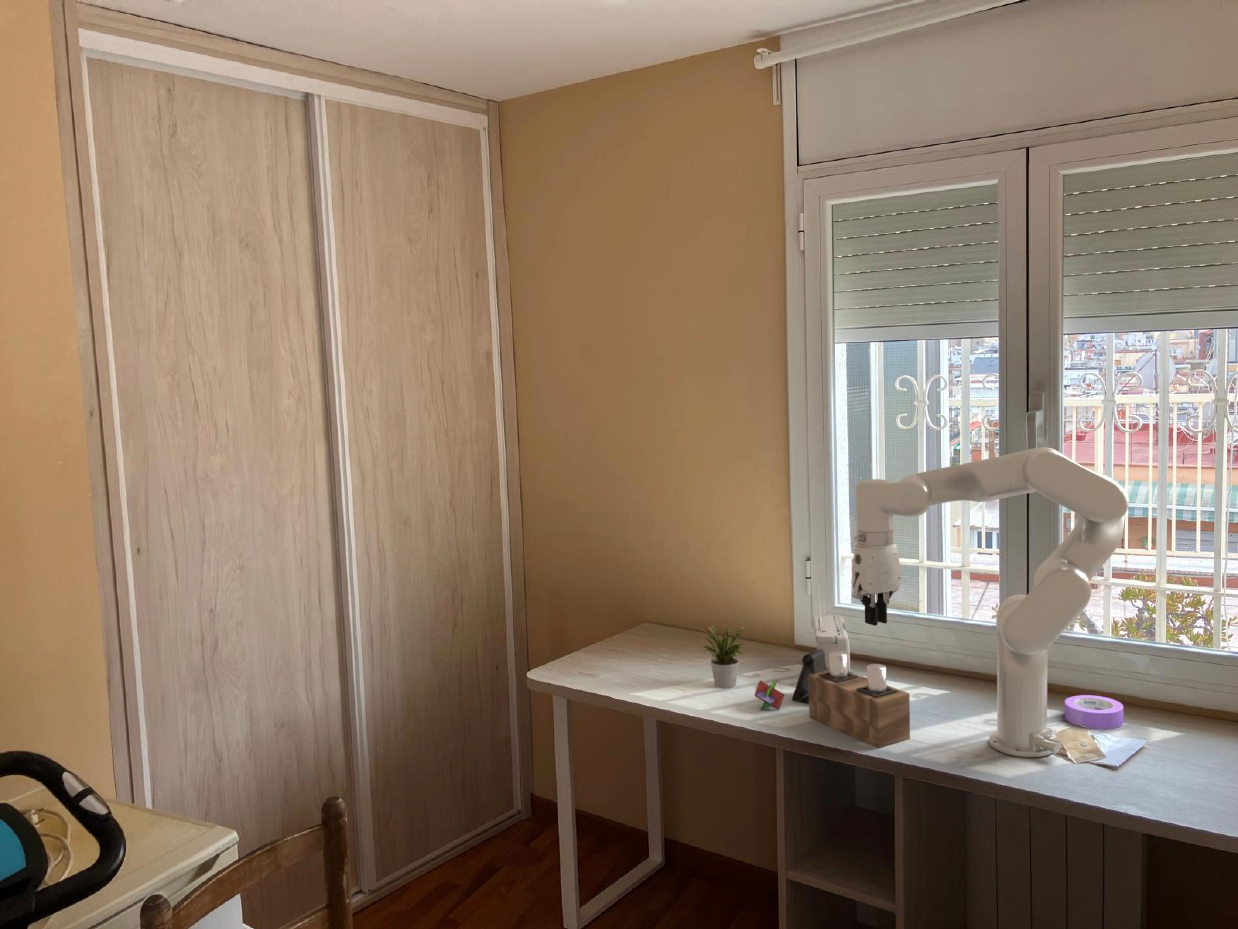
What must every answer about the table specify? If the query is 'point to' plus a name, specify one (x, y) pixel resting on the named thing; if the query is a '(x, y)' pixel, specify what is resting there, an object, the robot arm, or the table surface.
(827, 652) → the stereo radio cassette player
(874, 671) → the peg near
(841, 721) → the block
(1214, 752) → the table surface
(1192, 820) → the table surface
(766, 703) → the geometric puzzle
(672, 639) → the table surface
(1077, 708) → the masking tape
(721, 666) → the house plant
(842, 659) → the peg far
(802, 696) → the phone stand
